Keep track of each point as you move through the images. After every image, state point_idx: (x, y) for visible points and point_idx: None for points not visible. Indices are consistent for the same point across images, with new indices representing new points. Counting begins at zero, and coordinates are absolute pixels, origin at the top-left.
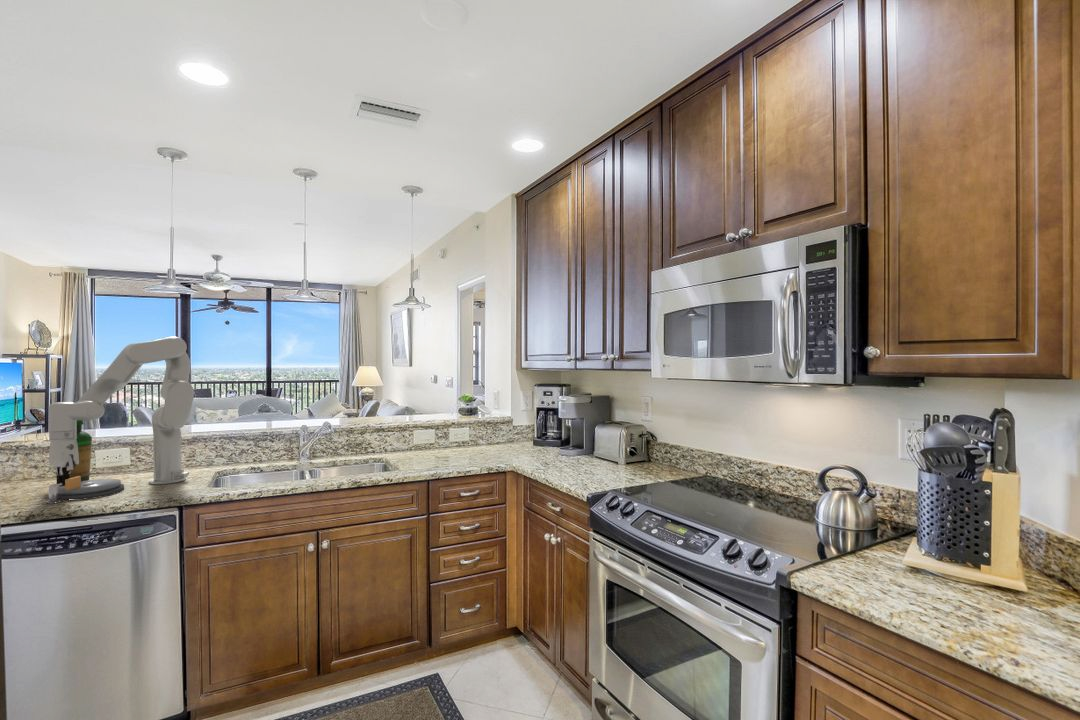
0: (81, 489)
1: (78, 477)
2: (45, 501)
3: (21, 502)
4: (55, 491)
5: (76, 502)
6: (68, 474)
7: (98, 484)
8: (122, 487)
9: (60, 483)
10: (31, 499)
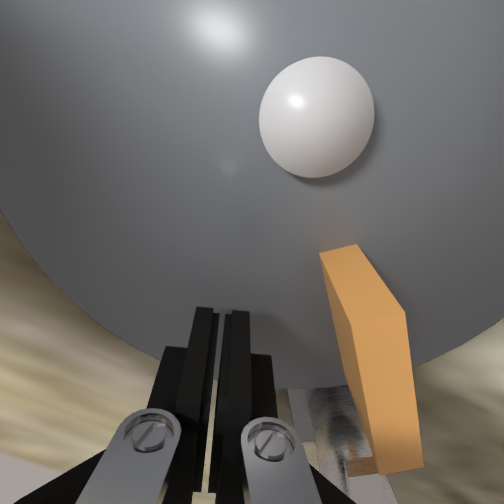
0: (470, 310)
1: (407, 342)
2: (311, 435)
3: (100, 438)
4: None
5: (498, 349)
6: (249, 411)
7: (445, 75)
8: None
9: (376, 484)
10: (58, 380)
